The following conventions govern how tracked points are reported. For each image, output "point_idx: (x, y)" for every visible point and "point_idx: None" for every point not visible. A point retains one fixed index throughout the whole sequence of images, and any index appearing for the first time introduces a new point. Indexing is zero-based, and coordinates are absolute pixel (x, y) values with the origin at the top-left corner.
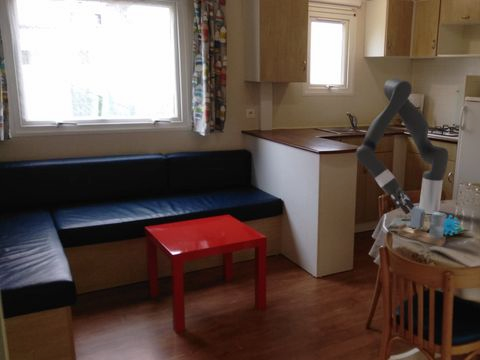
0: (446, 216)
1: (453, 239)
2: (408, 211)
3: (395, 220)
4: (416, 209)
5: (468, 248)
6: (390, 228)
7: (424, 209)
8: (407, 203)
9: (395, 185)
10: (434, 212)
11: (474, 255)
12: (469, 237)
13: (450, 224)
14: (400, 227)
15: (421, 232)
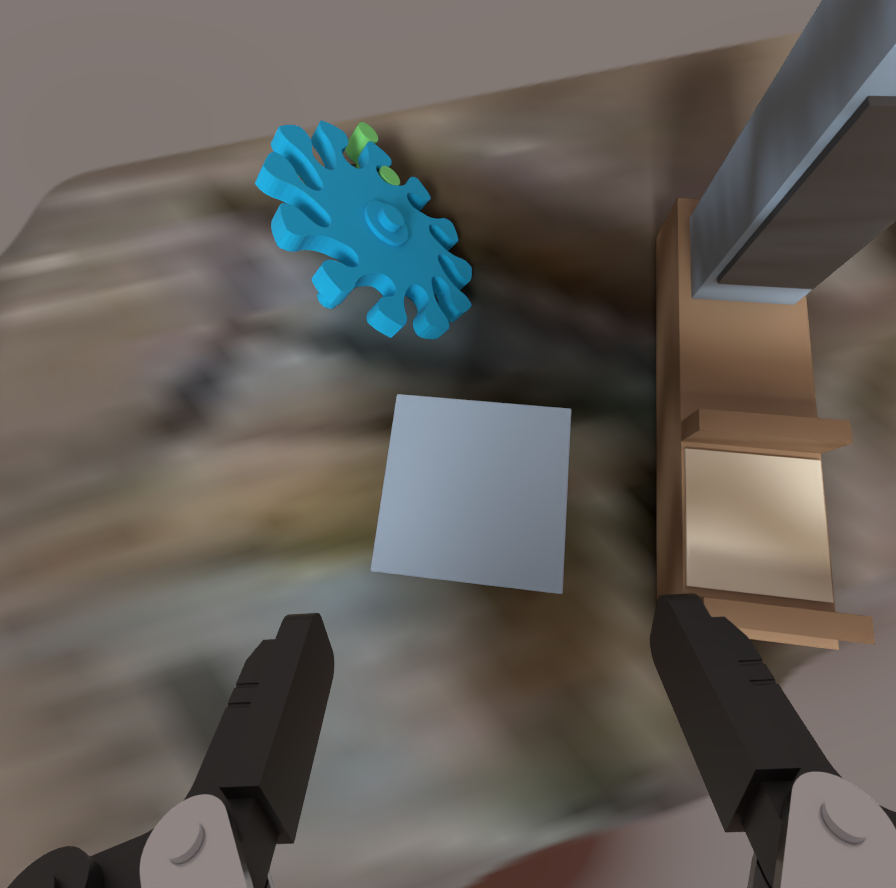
0: (294, 212)
1: (516, 212)
2: (715, 618)
3: (312, 829)
4: (564, 504)
5: (636, 100)
6: (648, 780)
7: (417, 404)
8: (293, 798)
9: None
10: None
11: (744, 48)
12: (385, 145)
13: (381, 203)
14: (860, 621)
15: (726, 395)
